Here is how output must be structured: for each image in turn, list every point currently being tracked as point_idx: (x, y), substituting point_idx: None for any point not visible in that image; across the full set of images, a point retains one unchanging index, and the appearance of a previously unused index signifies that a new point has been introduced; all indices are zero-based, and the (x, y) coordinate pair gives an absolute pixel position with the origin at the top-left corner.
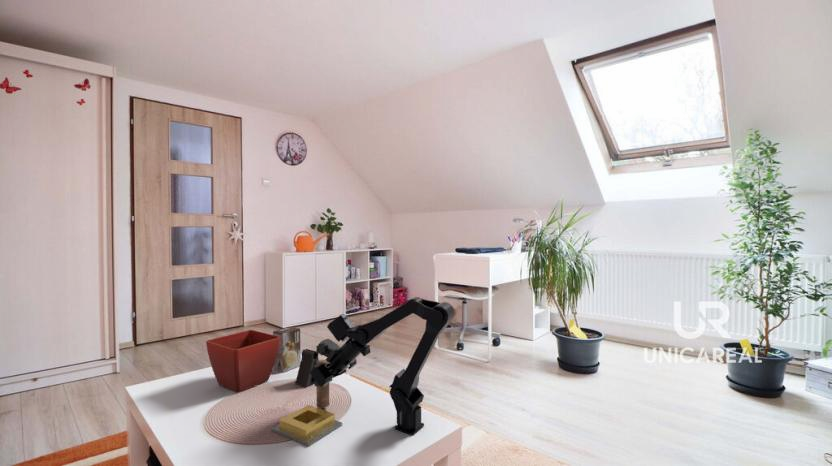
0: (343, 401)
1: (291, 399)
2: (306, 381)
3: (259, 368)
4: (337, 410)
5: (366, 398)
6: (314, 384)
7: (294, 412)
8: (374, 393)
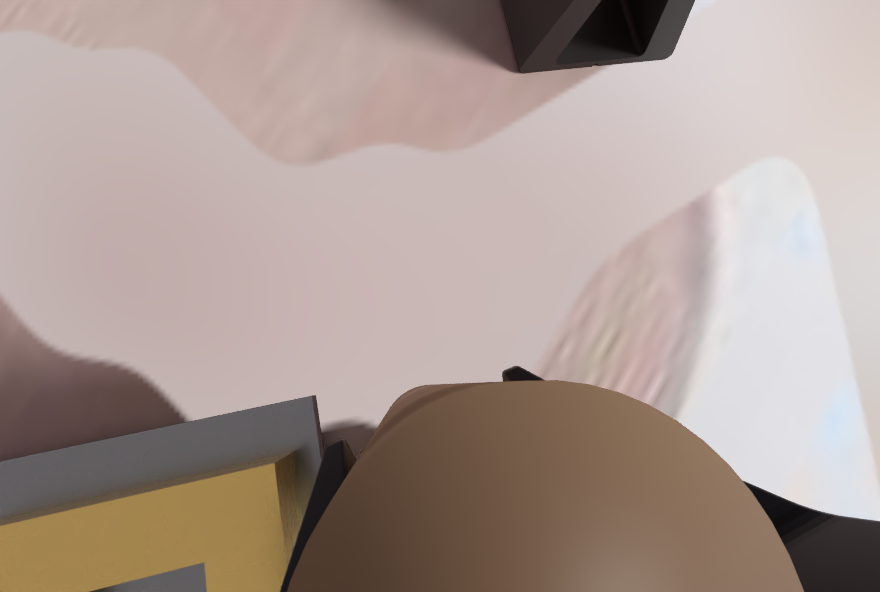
0: None
1: (357, 147)
2: (538, 34)
3: None
4: None
5: None
6: (331, 451)
7: (94, 509)
8: (839, 497)
